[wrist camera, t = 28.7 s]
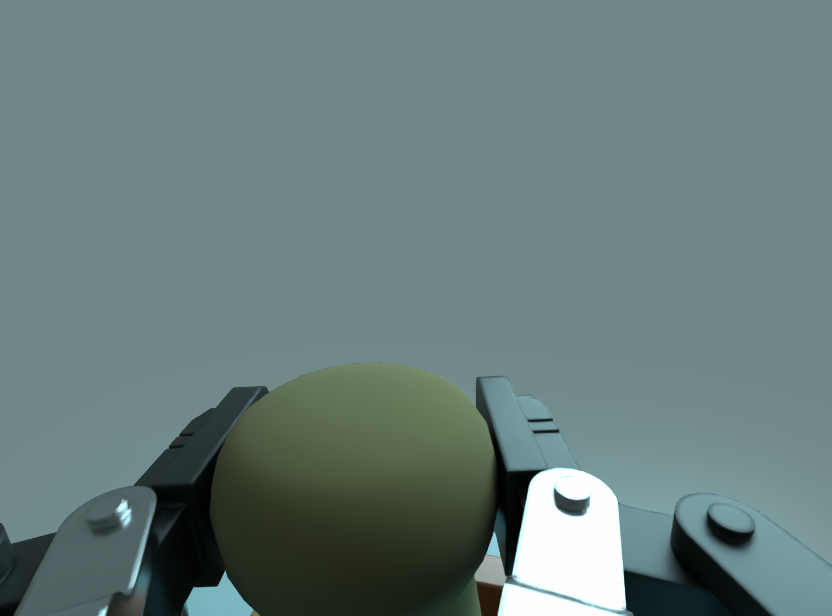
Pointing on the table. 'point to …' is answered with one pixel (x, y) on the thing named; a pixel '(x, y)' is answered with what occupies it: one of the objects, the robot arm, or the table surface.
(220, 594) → the table surface
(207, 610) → the table surface
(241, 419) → the cork
